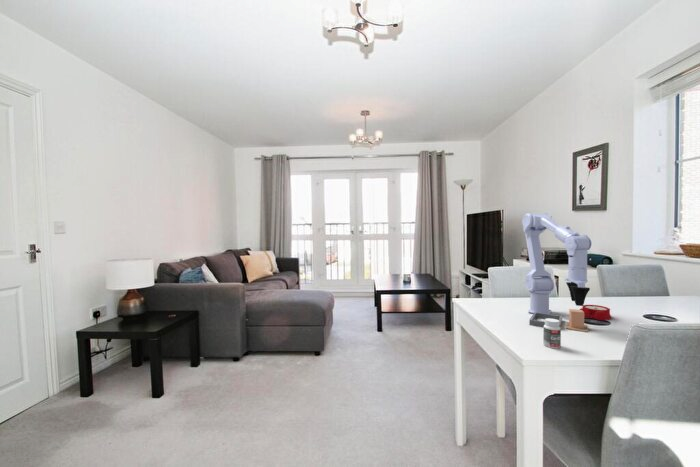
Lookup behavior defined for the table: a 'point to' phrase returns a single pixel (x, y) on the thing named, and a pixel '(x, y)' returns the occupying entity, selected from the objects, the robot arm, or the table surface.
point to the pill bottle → (552, 333)
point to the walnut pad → (577, 328)
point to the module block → (576, 318)
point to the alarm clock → (596, 312)
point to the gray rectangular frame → (543, 316)
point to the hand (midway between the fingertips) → (577, 303)
